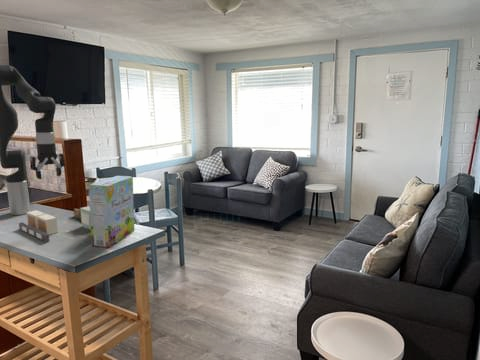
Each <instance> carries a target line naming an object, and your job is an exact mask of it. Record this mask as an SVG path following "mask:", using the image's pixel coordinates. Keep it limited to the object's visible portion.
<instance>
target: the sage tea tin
mask: <svg viewBox="0 0 480 360" xmlns="http://www.w3.org/2000/svg"><path fill="white" fill-rule="evenodd" d="M79 210H81V218H80V221H81V227H82V226H83V228H85V229H88V230H90V231H91V219H90V205H88V206H83V207H79Z"/></svg>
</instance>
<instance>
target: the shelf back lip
mask: <svg viewBox="0 0 480 360" xmlns="http://www.w3.org/2000/svg"><path fill="white" fill-rule="evenodd" d="M73 217H75V218H78V219H81V210H80V208H73Z"/></svg>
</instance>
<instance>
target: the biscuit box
mask: <svg viewBox="0 0 480 360" xmlns="http://www.w3.org/2000/svg"><path fill="white" fill-rule="evenodd" d="M37 224H38V230H39V231H41V232H43V233H46V234H48V235H49V236H50V235H53V234H57V233H58V231H59V229H58V221H57V217H55V216H53V215H50V214H48V213H45V215H40V216H37Z"/></svg>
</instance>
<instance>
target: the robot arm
mask: <svg viewBox="0 0 480 360" xmlns="http://www.w3.org/2000/svg"><path fill="white" fill-rule="evenodd" d="M4 86H15V93H16V95H17V96H18V97H19V98H20V99H21V100H22V101H24V102H25V103H26V105H27V107H28V109H29V111H31V112H32V113H35V114H43V116H42V117H40V118H36V119H35V121H34V128H35V142H36V150H37V151H36V152H37V153H36V154H37V156H30V157H29V160H30V161H29V162H30V170H32V171H35V177H36V178H37V179H38V180H42V172H41V169H43V168H44V166H48V165H54V166H55V167H56V168H55V173H56V176H57V177H61V175H62V168H63V167H65V166H66V164H65V163H66V162H65V157H64V153H62V152H61V153H57V148H56V147H57V145H56V138H55V137H56V136H55V133H54V118H55V113H56V107H57V105H56V102H55V100H54V99H53V97H50V96H41V94H40V92H39V91H37V89H36V88H34V87H33V86H31V84H29V83H28V82H27V81H26V79H25V78H24V77H23V75H21V73H20V72H19V71H18V69H17V68H16V67H14V66H12V65H9V64H0V166H1V168H2V169H4V170H5V169H7V170H8V169H17V170H16V171H15V172H12V173H11V174H7V176H6V177H5V182H6V189H7V199H8V206H9V214H10V215H12V216H19V215H27V212H31V205H30V196H29V195H30V194H29V187H28V186H29V185H28V179H27V172H26V157H25V153H24V150H22V149H14V150H13V149H11V150H8V145H9V143H10V141H11V140H12V138H13V136H14V135H15V133H16V131H17V130H18V128H19V120H18V119H19V118H18V112H17V111H16V109H15V108H14V106H13V105H12V104H11V102H9V101H8V99H7V98H6V96H5V94H4V91H3V87H4ZM57 159H58V160H59V162H58V160H57ZM37 161H38V163H37ZM36 163H37V164H36Z"/></svg>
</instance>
